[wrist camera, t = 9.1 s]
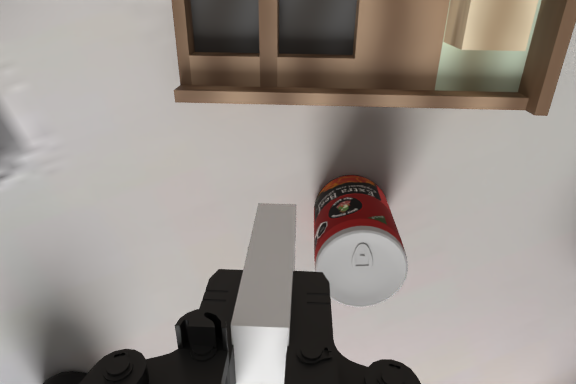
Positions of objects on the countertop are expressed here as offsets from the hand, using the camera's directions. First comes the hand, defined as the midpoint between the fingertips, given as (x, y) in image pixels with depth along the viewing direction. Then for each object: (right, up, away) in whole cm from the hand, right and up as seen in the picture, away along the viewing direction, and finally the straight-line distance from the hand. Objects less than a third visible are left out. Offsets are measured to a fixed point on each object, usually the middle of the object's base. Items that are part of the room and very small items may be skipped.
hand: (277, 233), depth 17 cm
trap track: (+6, +17, +18) cm, 26 cm away
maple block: (+15, +16, +16) cm, 27 cm away
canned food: (+7, 0, +27) cm, 28 cm away
